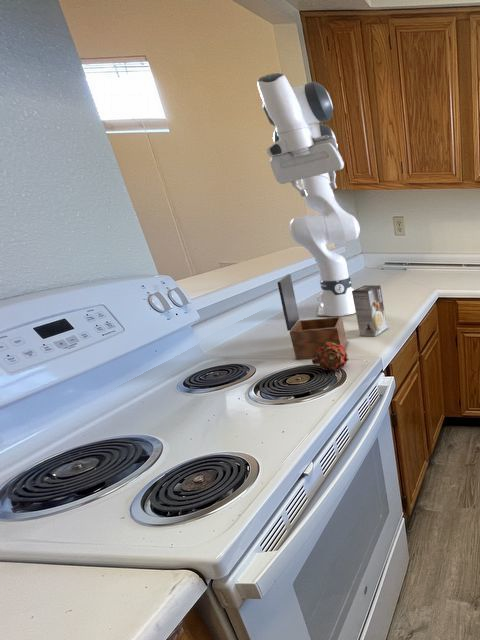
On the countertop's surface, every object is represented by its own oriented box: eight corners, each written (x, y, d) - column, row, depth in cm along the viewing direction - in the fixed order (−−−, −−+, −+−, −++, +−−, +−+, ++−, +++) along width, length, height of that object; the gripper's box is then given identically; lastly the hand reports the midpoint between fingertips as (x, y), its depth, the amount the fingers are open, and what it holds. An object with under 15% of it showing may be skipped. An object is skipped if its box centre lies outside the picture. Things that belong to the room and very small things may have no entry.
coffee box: (371, 327, 155) (364, 284, 148) (387, 328, 154) (381, 285, 147) (359, 335, 147) (351, 290, 140) (376, 336, 145) (368, 291, 139)
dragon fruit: (343, 380, 116) (325, 375, 124) (361, 356, 119) (342, 352, 127) (318, 362, 110) (301, 358, 118) (338, 337, 113) (320, 335, 121)
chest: (346, 341, 141) (342, 316, 138) (342, 354, 130) (337, 327, 126) (304, 345, 139) (298, 320, 135) (296, 359, 128) (289, 332, 124)
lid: (290, 274, 129) (287, 274, 129) (280, 282, 118) (277, 282, 118) (299, 319, 135) (296, 319, 135) (290, 330, 124) (287, 330, 124)
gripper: (335, 132, 122) (353, 182, 130) (268, 149, 123) (291, 198, 130) (330, 134, 117) (350, 185, 125) (260, 151, 117) (284, 202, 125)
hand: (319, 192), depth 128 cm, fingers open, 8 cm apart
